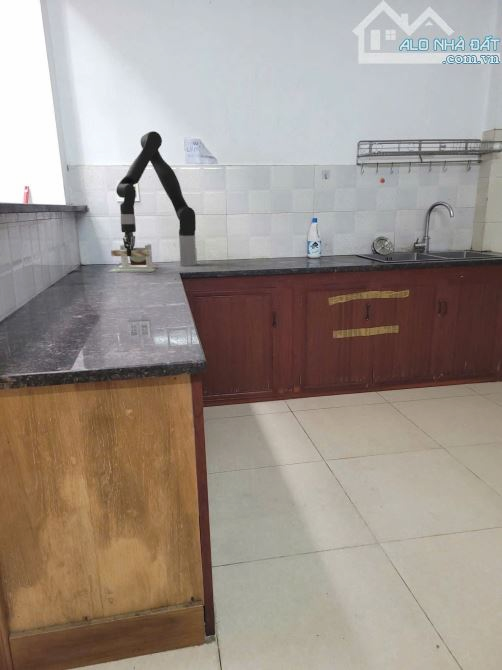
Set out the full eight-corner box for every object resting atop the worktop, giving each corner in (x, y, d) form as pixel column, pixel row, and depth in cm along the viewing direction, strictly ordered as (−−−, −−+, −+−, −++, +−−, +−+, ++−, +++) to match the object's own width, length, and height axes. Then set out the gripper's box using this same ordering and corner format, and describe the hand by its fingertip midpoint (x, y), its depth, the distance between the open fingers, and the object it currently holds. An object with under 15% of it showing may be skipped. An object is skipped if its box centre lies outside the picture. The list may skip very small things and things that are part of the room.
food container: (152, 264, 282) (151, 247, 279) (149, 266, 276) (147, 248, 273) (132, 264, 283) (130, 247, 280) (128, 265, 278) (127, 248, 275)
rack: (156, 267, 271) (154, 244, 267) (153, 269, 264) (151, 245, 261) (122, 267, 272) (120, 244, 269) (118, 269, 266) (116, 245, 262)
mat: (155, 269, 262) (155, 269, 262) (151, 272, 254) (151, 271, 254) (113, 269, 263) (113, 269, 263) (108, 272, 256) (108, 271, 256)
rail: (149, 255, 257) (148, 250, 257) (147, 256, 255) (147, 250, 254) (113, 255, 259) (112, 250, 258) (111, 256, 256) (110, 250, 255)
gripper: (130, 223, 245) (133, 257, 250) (138, 222, 258) (140, 254, 263) (116, 223, 245) (119, 257, 250) (125, 222, 259) (127, 253, 264)
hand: (130, 255), depth 257 cm, fingers closed on rail, 3 cm apart
